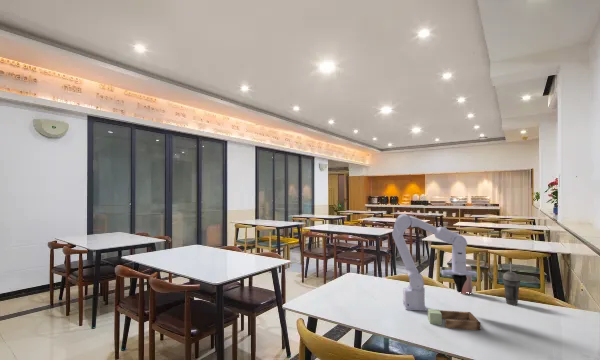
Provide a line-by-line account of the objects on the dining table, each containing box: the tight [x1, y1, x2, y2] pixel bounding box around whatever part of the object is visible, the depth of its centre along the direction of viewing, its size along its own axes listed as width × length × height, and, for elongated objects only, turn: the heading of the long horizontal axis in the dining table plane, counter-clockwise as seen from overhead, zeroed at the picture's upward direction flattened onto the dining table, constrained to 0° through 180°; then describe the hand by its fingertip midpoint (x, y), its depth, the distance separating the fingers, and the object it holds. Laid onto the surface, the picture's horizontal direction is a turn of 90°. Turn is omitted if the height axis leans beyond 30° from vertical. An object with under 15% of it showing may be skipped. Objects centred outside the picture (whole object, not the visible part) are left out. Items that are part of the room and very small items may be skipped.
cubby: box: [439, 309, 481, 331], centre depth 129 cm, size 13×10×3 cm
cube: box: [427, 308, 443, 325], centre depth 131 cm, size 4×4×4 cm
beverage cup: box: [502, 261, 521, 306], centre depth 152 cm, size 7×7×20 cm
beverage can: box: [460, 263, 473, 296], centre depth 166 cm, size 6×6×15 cm
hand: (459, 291), depth 141 cm, fingers closed
